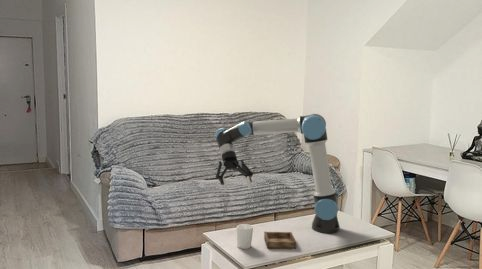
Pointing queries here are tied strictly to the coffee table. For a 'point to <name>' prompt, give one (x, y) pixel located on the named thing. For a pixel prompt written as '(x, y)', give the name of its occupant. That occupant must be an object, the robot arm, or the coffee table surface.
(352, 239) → the coffee table surface
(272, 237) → the tray
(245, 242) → the white cup
